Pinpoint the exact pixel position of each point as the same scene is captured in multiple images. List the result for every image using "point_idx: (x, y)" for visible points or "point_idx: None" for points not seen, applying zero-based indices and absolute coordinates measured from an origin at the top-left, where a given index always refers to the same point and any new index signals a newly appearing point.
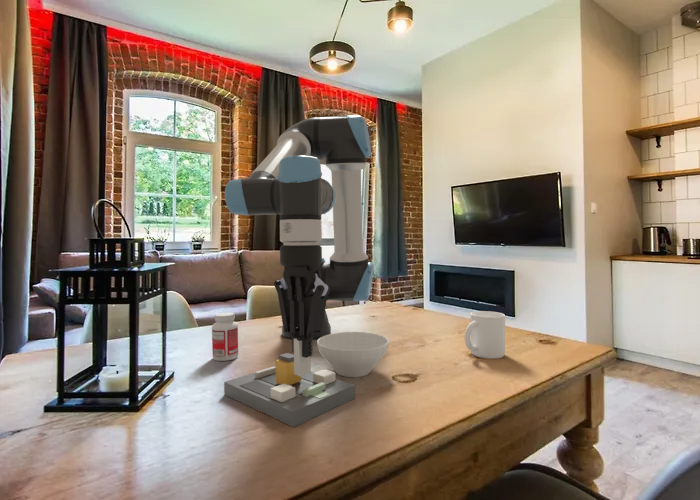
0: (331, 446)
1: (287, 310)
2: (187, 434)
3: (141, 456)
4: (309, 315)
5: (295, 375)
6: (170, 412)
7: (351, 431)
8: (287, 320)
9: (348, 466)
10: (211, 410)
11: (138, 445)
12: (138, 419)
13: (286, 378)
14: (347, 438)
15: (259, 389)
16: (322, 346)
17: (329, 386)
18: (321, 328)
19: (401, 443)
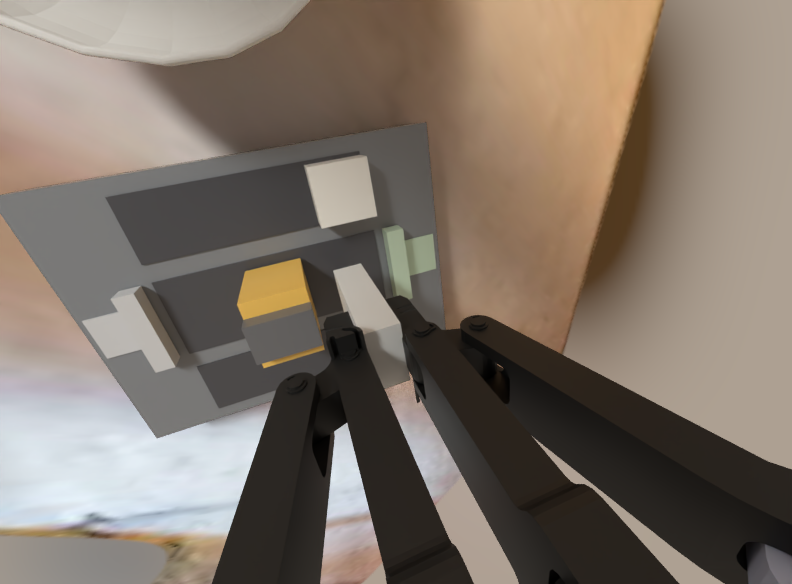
0: (523, 299)
1: (317, 536)
2: (339, 468)
3: (365, 508)
4: (551, 450)
5: (308, 289)
6: (220, 498)
7: (517, 245)
8: (328, 475)
9: (570, 304)
10: (257, 437)
11: (330, 517)
12: (223, 536)
13: (318, 322)
14: (526, 265)
15: (284, 372)
16: (121, 59)
17: (384, 200)
18: (512, 331)
19: (600, 199)
